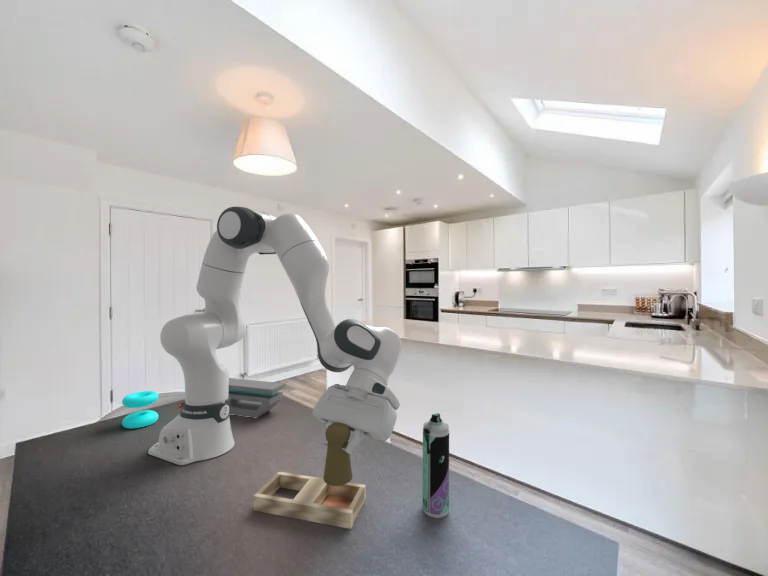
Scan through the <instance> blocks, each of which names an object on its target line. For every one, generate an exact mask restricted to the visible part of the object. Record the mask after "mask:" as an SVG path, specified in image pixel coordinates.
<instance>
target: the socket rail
mask: <svg viewBox="0 0 768 576" xmlns="http://www.w3.org/2000/svg"><path fill="white" fill-rule="evenodd" d="M323 478H324V477H323ZM323 478H322V477H315V476H311V475H304V474H298V473H297V474H296V473H290V472H284V471H277V472H276V473H275V474H274V476H273V477H272V478H270V480H269V481H267V482H266V483H265V484H264V485H263V486H262V487H261V488H260V489H259V490H258V491H257V492H256V493H255V494H254V495H253V512H254V511H255V512H260V513H266V514H270V515H275V516H276V515H277V516H282V517H285V518H286V517H287V518H291V519H292V518H293V519H298V520H301V521H308V522H313V523H318V524H322V525H328V526H334V527H339V528H343V529H350V530H352V528H353V526H354V525H355V522H356V521H357V517H358V515H359V513H360V512H361V510H362V507H363V505H364V503H365V502H366V498H367V492H366V491H367V490H366V489H367V484H363V483H362V484H361V483H354V482H351V481H350V482H348V483H347V484H344V485H341V486H331V485H328V484H326V483H325V482H324V479H323ZM280 488H281V489H282V488H283V489H288V490H295V491H299V492H297V494H296V495H295V497H294V498H286V497H281V496H276V495H275V494H276V493H277V491H278V490H279V489H280Z"/></svg>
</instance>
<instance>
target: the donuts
mask: <svg viewBox="0 0 768 576" xmlns="http://www.w3.org/2000/svg"><path fill="white" fill-rule="evenodd" d="M159 398H160V397H159V393H158V392H157V391H153V390H142V391H136V392H133V393H130V394H127V395H126V396H124V397H123V398H122V401H121V404H122V405H123V406H124V407H125V408H128V409H129V408H130V409H137V408H144V407H147V406H150V405H153V404H154V403H156V402H157V401H158V399H159ZM158 419H159V414H158V412H156V411H155V410H150V409H145V410H138V411H134V412H132V413H130V414H127V416H125V417H123V419H122V422H121V425H122V426H123V428H125V429H130V430H131V429H141V427H142V428H146V427H149V426H151V425H153V424H154V423H156V422H157V421H158ZM145 426H146V427H145Z"/></svg>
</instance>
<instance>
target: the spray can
mask: <svg viewBox="0 0 768 576" xmlns="http://www.w3.org/2000/svg"><path fill="white" fill-rule="evenodd" d="M422 427H423V428H422V512H423V513H424V514H425V515H427V516H428V517H430V518H434V519H441V518H445V517H447V515H448V514H449V512H450V429H449V427H450V426H449V424H448V423H446V422H444V421H443V419H442V418H441V414H440V413H439V412H438V413H433V414H431V416H430V418H429V420H428V421H426V422H424V423H423V426H422Z"/></svg>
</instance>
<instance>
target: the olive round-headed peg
mask: <svg viewBox="0 0 768 576" xmlns="http://www.w3.org/2000/svg"><path fill="white" fill-rule="evenodd" d="M325 436H326V440H327V441H328V446H326V457H325V463H324V470H323V479H324V482H325V483H326V484H328V485H331V486H341V485H344V484H347V483H348V482H350V483H351V480H353V469H352V460H351V457H350V456H351V454H347V453H345V452H343V451H342V447H343V446H344V443H345V442H349V441H350V437H351V431H350V428H349V427H348V426H347V425H346V424H343V423H334V424H331V425H329V426H328V428H327V429H326V428H325ZM325 436H324V437H325Z"/></svg>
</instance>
